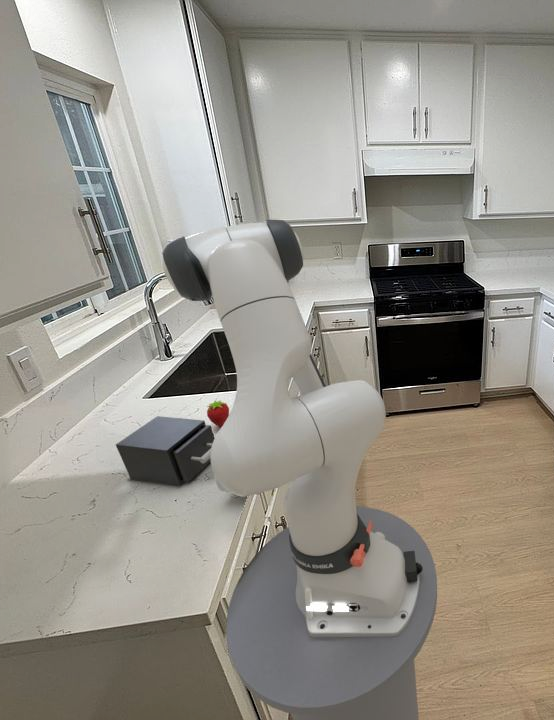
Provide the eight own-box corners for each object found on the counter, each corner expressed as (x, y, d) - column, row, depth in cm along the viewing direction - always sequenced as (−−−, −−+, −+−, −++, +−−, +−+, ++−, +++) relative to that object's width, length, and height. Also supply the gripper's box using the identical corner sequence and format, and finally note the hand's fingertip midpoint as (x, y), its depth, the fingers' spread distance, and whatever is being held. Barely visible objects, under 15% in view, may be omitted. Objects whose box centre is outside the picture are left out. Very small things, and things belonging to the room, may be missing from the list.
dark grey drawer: (233, 454, 103) (225, 426, 99) (203, 484, 93) (193, 454, 89) (176, 448, 106) (166, 421, 103) (142, 476, 96) (129, 447, 93)
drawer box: (215, 453, 105) (204, 420, 101) (180, 485, 94) (166, 450, 89) (169, 448, 108) (157, 416, 104) (130, 479, 97) (115, 444, 92)
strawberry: (233, 418, 121) (225, 390, 117) (232, 431, 114) (224, 401, 110) (213, 422, 119) (204, 394, 115) (210, 436, 113) (201, 406, 108)
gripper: (294, 423, 100) (247, 419, 103) (248, 477, 82) (191, 471, 85) (298, 443, 103) (252, 439, 105) (254, 500, 84) (199, 493, 87)
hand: (224, 453), depth 95 cm, fingers closed
